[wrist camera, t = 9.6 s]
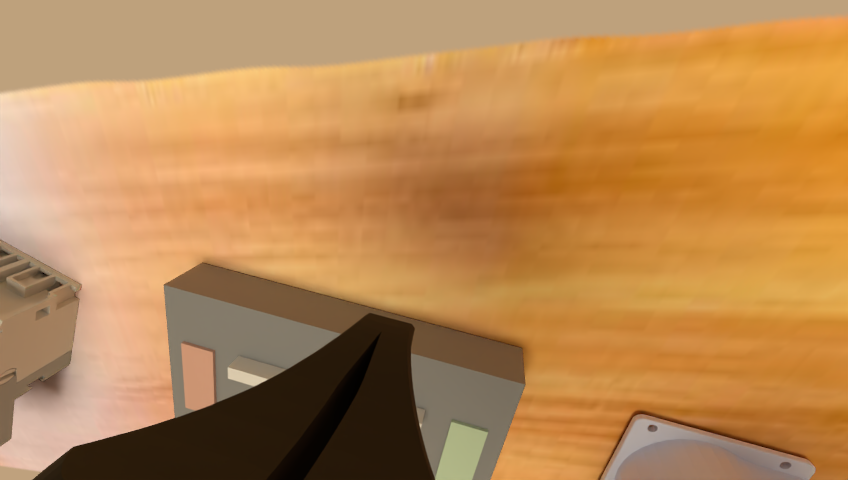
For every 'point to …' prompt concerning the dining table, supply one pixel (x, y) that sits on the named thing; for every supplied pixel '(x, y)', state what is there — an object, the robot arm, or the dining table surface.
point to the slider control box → (314, 328)
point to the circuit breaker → (31, 326)
